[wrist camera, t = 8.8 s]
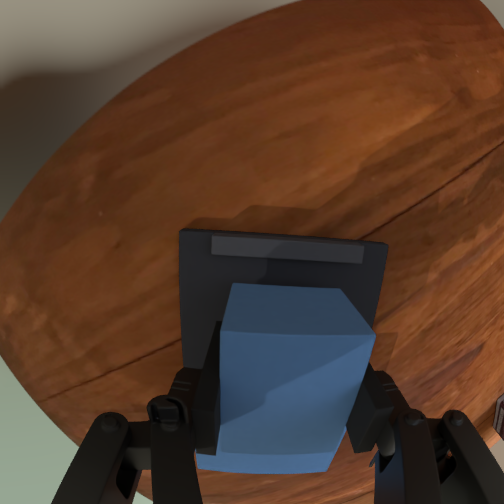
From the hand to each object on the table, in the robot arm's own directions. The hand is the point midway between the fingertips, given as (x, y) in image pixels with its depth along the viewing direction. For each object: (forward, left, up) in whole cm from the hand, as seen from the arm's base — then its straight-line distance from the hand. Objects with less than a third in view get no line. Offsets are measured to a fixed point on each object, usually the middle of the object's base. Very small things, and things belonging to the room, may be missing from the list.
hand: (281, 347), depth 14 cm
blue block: (0, 0, 0) cm, 0 cm away
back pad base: (+3, 0, -3) cm, 4 cm away
